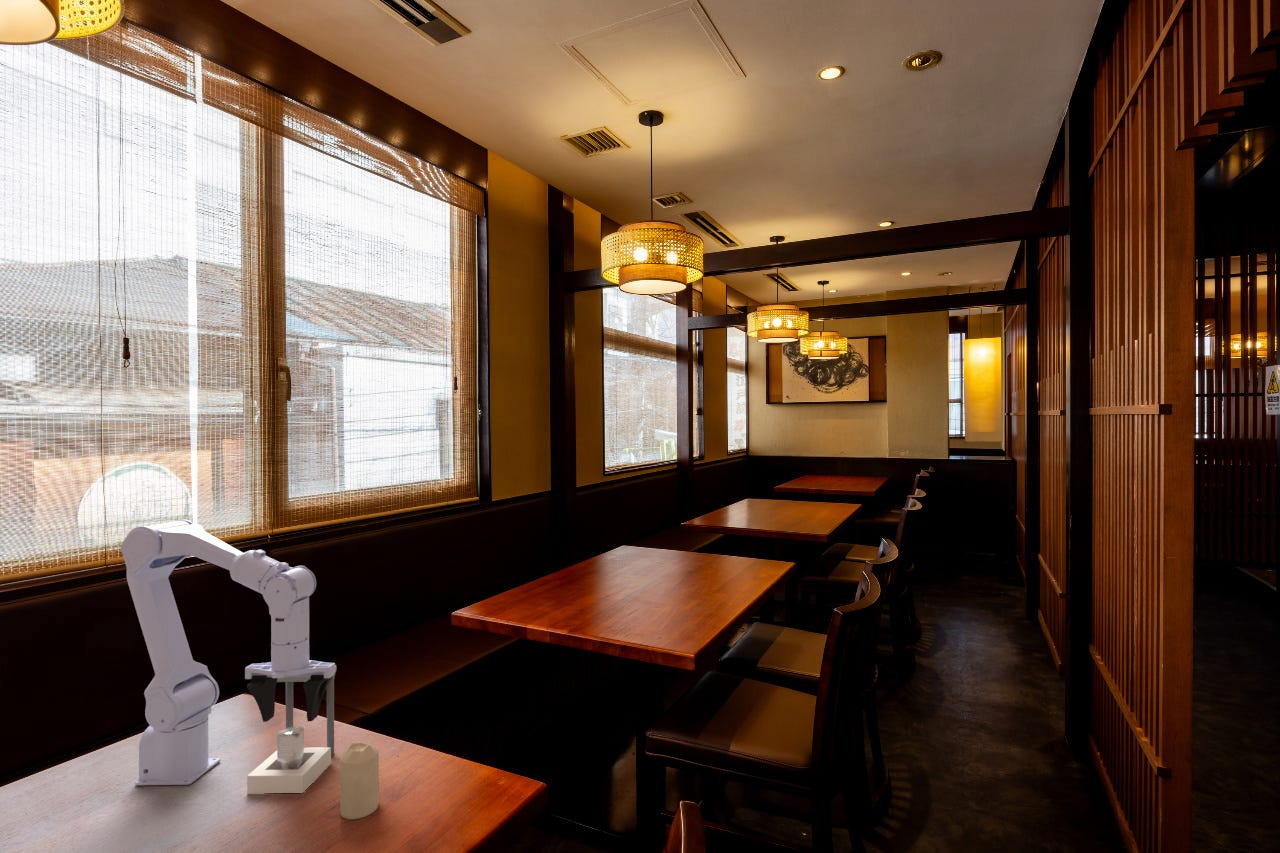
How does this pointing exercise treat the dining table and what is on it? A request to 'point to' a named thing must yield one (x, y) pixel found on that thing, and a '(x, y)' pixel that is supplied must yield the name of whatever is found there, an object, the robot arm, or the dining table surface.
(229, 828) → the dining table surface
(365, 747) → the candle
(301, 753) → the peg
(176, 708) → the robot arm
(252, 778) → the socket block
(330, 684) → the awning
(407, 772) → the dining table surface
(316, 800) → the dining table surface
